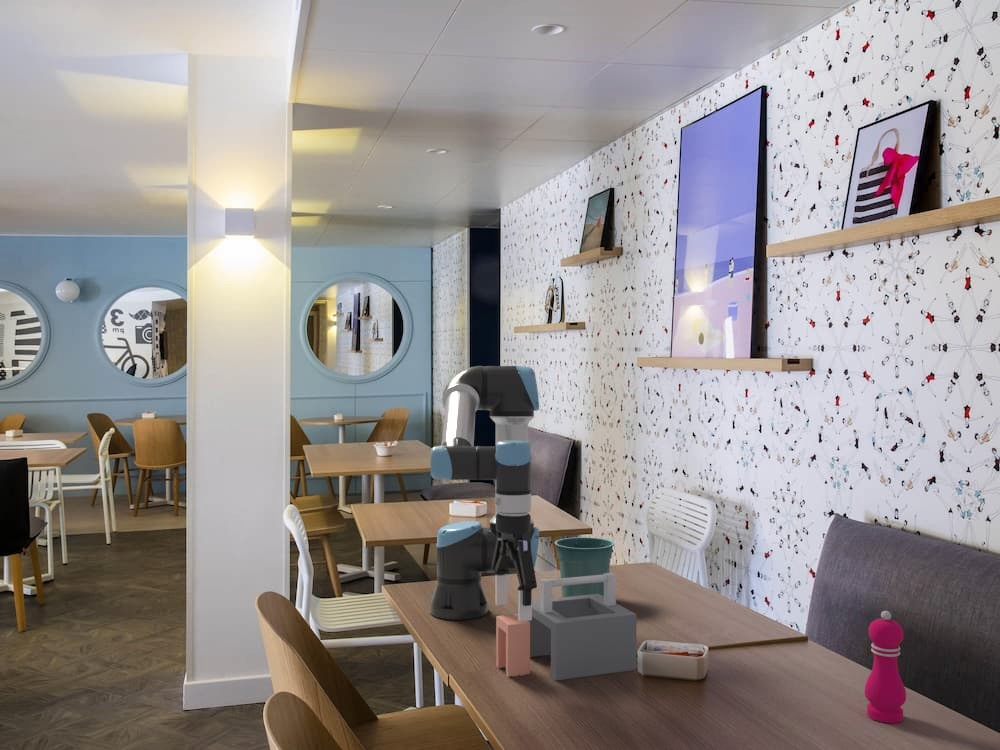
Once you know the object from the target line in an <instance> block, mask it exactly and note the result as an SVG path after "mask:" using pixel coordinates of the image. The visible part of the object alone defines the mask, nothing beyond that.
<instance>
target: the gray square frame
mask: <svg viewBox="0 0 1000 750" xmlns="http://www.w3.org/2000/svg"><path fill="white" fill-rule="evenodd" d="M597 582H604V596H602V595H600V594H591V595H581V596H571V597H553V588H554V587H562V586H566V585H577V584H587V583H597ZM637 616H638V615H637V613H635V612H633V611H631V610H629V609H627V608H625V607H624V606H622V605H620V604H618V603H617V574H615V573H614V572H609V573H604V574H603V575H593V576H582V577H571V578H561V577H560V578H553V579H552V578H551V579H550V578H541V579H539V599H534V600H533V599H532V620H529V621H528V622H530V658H534V657H535V658H536V657H542V656H550V677H551V679H552V680H555V682H557V681H562V680H569V679H571V680H572V679H579V678H584V677H593V676H599V675H600V676H601V675H608V674H615V673H622V672H629V671H635V670H637V623H638V622H637Z"/></svg>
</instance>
